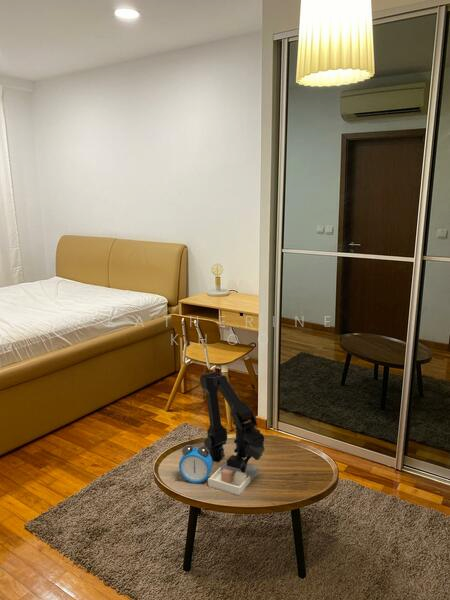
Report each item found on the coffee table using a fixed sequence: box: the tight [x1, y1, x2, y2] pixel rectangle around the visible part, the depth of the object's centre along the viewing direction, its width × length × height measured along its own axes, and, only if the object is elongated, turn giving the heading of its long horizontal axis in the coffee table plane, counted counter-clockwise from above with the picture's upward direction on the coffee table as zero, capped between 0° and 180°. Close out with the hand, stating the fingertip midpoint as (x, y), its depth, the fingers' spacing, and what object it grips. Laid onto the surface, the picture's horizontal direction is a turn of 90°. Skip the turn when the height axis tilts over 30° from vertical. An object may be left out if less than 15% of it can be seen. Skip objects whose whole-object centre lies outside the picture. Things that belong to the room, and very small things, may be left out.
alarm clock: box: [178, 444, 214, 484], centre depth 189 cm, size 13×6×15 cm, turn 79°
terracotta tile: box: [221, 469, 233, 483], centre depth 188 cm, size 4×4×2 cm
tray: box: [207, 466, 251, 496], centre depth 186 cm, size 14×10×4 cm
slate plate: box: [220, 461, 259, 483], centre depth 194 cm, size 14×8×2 cm, turn 62°
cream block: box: [234, 471, 246, 485], centre depth 186 cm, size 4×4×2 cm
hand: (243, 472), depth 188 cm, fingers closed
